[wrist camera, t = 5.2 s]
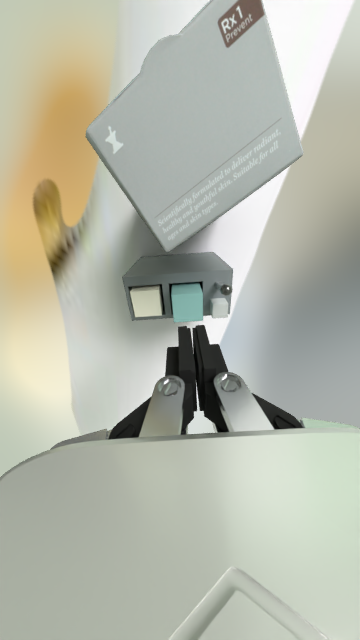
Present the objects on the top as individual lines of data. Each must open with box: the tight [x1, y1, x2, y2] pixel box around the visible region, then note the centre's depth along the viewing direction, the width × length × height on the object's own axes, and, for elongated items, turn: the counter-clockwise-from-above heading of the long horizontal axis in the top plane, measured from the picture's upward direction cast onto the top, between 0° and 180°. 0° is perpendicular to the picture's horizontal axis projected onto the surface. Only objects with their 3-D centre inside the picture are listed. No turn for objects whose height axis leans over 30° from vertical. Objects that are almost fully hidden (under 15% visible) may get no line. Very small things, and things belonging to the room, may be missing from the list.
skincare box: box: [86, 0, 303, 252], centre depth 15 cm, size 8×7×16 cm
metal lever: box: [215, 282, 232, 296], centre depth 15 cm, size 1×1×4 cm
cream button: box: [130, 284, 164, 317], centre depth 19 cm, size 3×3×3 cm
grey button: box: [210, 298, 228, 318], centre depth 17 cm, size 1×1×1 cm
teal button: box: [171, 282, 203, 322], centre depth 17 cm, size 3×3×3 cm
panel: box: [122, 252, 233, 321], centre depth 22 cm, size 4×10×10 cm, turn 94°
